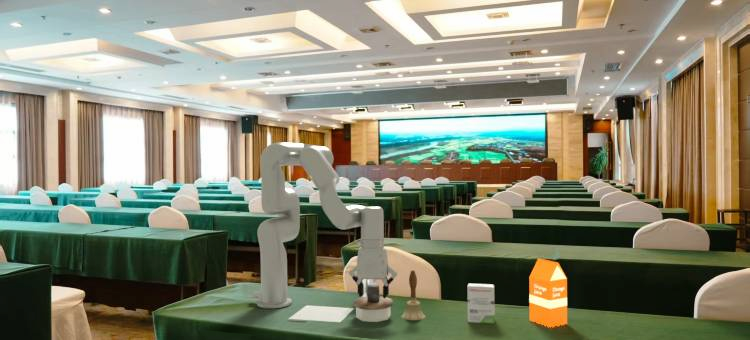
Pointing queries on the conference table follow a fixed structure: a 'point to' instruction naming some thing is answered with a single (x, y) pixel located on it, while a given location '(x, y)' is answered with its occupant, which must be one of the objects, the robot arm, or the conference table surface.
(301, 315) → the mat
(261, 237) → the robot arm
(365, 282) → the beer glass
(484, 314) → the ink box
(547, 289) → the orange juice
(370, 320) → the bowl
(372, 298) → the lid
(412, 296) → the hand bell
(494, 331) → the conference table surface
